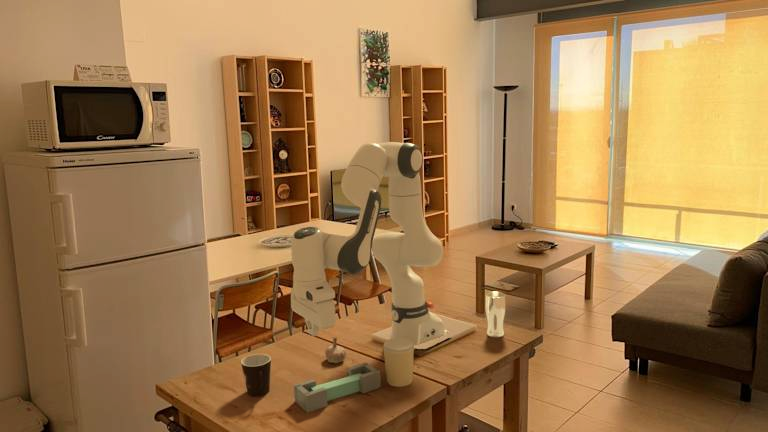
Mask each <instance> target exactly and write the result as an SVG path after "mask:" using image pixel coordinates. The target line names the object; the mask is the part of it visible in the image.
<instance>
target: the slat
mask: <svg viewBox="0 0 768 432" xmlns="http://www.w3.org/2000/svg"><path fill="white" fill-rule="evenodd" d="M360 375H362V374H360V373H359V374H355V375H352V376H349V375H348V376H345V377H342V378H339V379H335V380H331V381H328V382H325V383H321V384H316V386H313V387H310V389H311V391H314V390H317V389H320V388H323V387H324V388H325V389H327V402H329V401H331V400H332V401H333V400H335V399H338V398H342V397H344V396H349V395H351V394H355V393H358V392H361V391H360Z"/></svg>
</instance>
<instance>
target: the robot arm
mask: <svg viewBox="0 0 768 432" xmlns="http://www.w3.org/2000/svg"><path fill="white" fill-rule="evenodd" d="M423 163H424V157H423V153H422V150H421V149H420V147H419V145H416V144H413V143H410V142H397V141H387V142H379V143H375V142H366V143H364V144H362V145H361V146H360V147H359V148H358V149H357V151H356V152H355V154H354V155H353V157H352V158H351V160H350V162H349V164H348V165H347V168H346V169H345V171H344V174H343V175H342V178H341V182H340V187H341V192H342V193H343V195H344V196H345V197H346V199H347V200H348V201H350V202H351V203H352V204H353V205H354V206H356V207H359V208H360V211H359V212H360V213H359V216H358V220H357V223H356V226H355V231H354V233H352V234H351V235H346V236H345V235H339V234H333V233H327V232H325V231H322V230H320V228H319V227H316V226H307V227H302V228H299V229H298V230H296V231H295V232H294V233H293V235H292V238H291V247H290V248H291V249H290V250H291V264H292V267H293V274H292V278H293V279H292V280H293V282H292V283H293V284H292V285H293V286H292V287H291V289H290V307H291V310H292V311H293V312H294V313H296V314H297V315H299V316H301V317H302V318H304V322H305V324H306V327H307V331H308V332H307V333H308V334H309V335H311V336H312V337H317V336H319V329H321V330H322V331H324V330H328V329H331V328H333V327H335V325H336V305H335V301H334V299H335V298H336V292H335V290H334V289H333V287H331V285H330V284H329V282H328V280H327V278H326V277H327V275H326V272H325V270H326V269H331V270H337V271H342V272H343V273H344V272H345V273H348V274H352V275H358V274H359V273H361V272H363V270H365V269H366V268H367V267H368V265H369V264H370V261H371V258H372V257H371V256H373V257H374V258H375V259H376V260H377V261H378V262H379V263H380V264H381V265H382V267H383V268H384V269H385V271H386V273H387V275H388V278H389V280H390V285H391V293H392V296H391V297H392V302H391V318H392V323H391V324H392V326H391V332H390V337H389V339H393V338H406V339H409V340H411V341H412V342H413V344H414V345H418V346H419V345H420V344H422V343H425V342H428V341H430V340H433V339H436V338H440V337H441V336H443V335H445V334H446V333H445V332H447V331H448V330H447V329H445V325H444V322H443V320H442V319H441V318H440V317H438V316H437V315H436V314H434V313H433V312H431V311H430V310H433V309H434V308H435V304H434V303H432V302H430V301H429V302H427V301H425V283H424V281H423V279H422V277H420V276H419V275H418V274H417V273H416V272H414V270H413V269H412V268H411V267H420V268H427V267H429V268H430V267H436V266H437V265H438V264H439V263H441V261H442V258H443V256H444V247H443V243H442V241H441V240H440V238H438V237H437V236H436V235H435V234H433V233H432V231H431V229H430V228H429V227H428V225H427V222H426V220H425V218H424V211H423V202H422V199H423V198H422V185H421V184H422V183H421V176H420V171H421V169H422V167H423ZM383 178H388V211H389V213H388V214H389V217H390V218H391V220H392V222H394V223H396V224H398V226H400V228H401V229H402V230H403V232H398V231H396V232H395V231H389V232H382V233H381V232H380V233H378V234H377V235H376V234H375V232H376V229H377V225H378V221H379V217H380V213H381V208H382V196H381V193H380V191H379V186H380V185H381V183H382V180H383ZM375 235H376V236H375ZM374 236H375V237H374ZM429 309H430V310H429Z"/></svg>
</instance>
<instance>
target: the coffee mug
mask: <svg viewBox="0 0 768 432" xmlns="http://www.w3.org/2000/svg"><path fill="white" fill-rule="evenodd" d="M271 362H272V357H271V355H269V354H265V353H254V354H250V355H246V356H245V357H243V358H242V359H241V360H240V363H241V364H240V365H241V369H242V373H243V377H244V383H245V387H246V392H247V395H248V396H250V397H254V398H256V397H257V398H258V397H262V396H265V395H267V394H268V393H270V387H271V385H270V384H271V369H272V368H271V367H272V366H271V365H272V364H271Z"/></svg>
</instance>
